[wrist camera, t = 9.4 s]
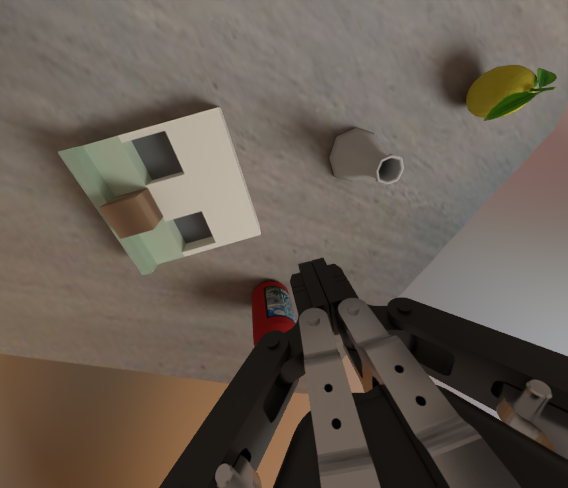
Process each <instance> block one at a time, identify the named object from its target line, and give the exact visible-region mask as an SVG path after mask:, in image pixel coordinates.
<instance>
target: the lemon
mask: <svg viewBox="0 0 568 488" xmlns="http://www.w3.org/2000/svg"><path fill="white" fill-rule="evenodd" d="M556 78H557V77H556V75H555V74H554V73H552V72H549V71H547V70H544V69H541V68H538V81H537V77H536V75H535V74H534V73H533V72H532V71H531V70H530V69H528V68H526V67H524V66H520V65H508V66H500V67H496V68H494V69H492V70H490V71H488V72H486V73H484V74H482V75H481V76H480V77H479V78H478V79H476V80H475V82H474V83H473V84H472V85H471V87H470V89H469V91H468V93H467V98H466V105H467V107H468V110H469V111H470V112H471V113H472V114H474V115H475V116H478V117H483V118H485V119H484V121H486V120H491V119H495V118H498V117H503V116H506V115H509V114H511V113H513V112H515V111H517V110H519V109H520V108H522V107H523V106H524V105H525V104H527V102H529V101H530V100H531V99H532V98H534V97H535V96H536V95H537V94H539V93H541V92H543V91H546V90H554V89H555V88H556V87H550V88H542V87H544V86H546V85H548V84H550V83H552V82H554V81H555V80H556ZM538 82H539V89H536V88H537V83H538ZM535 91H540V92H538V93H535Z"/></svg>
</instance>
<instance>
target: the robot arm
mask: <svg viewBox="0 0 568 488" xmlns="http://www.w3.org/2000/svg"><path fill="white" fill-rule="evenodd" d="M298 265H299V270H300V273H297V274H293V275H292V276H291V280H290V283H291V287H292V291H293V295H294V299H295V303H296V306H297V310H298V315H299V316H298V321H297V323H296V324H295V325H294V326H293V327H292V328H291V329H290V330H288V331H286V332H285V333H284V332H282V331H279V330H273V331H269V332H267V333H266V334H264V335H263V336H262V337H261V339H260V340H259V341H258V343H257V344H256V346H255V347H254V349H253V350H252V352H251V353H250V355H249V356H248V358H247V359H246V361H245V362H244V363H243V365H242V366H241V368H240V369H239V371H238V372H237V374H236V375H235V377H234V378H233V380H232V381H231V383H230V384H229V386H228V387H227V389H226V390H225V391H224V393H223V394H222V396H221V397H220V399H219V400H218V402H217V403H216V405H215V406H214V408H213V409H212V411H211V412H210V413H209V415H208V416H207V418H206V419H205V421H204V422H203V424H202V425H201V427H200V428H199V430H198V431H197V433H196V434H195V435H194V437H193V439H192V440H191V441H190V443H189V444H188V446H187V447H186V449H185V450H184V452H183V453H182V455H181V456H180V458H179V459H178V461H177V462H176V463H175V465H174V466H173V468H172V469H171V471H170V472H169V474H168V475H167V477H166V478H165V480H164V481H163V483H162V484H161V485H160V487H159V488H262V487H261V480H260V477H259V475H258V473H257V472H256V470H257V468H258V466H259V464H260V462H261V460H262V458H263V455H264V454H265V451H266V449H267V447H268V445H269V443H270V441H271V439H272V437H273V435H274V432H275V430H276V428H277V426H278V424H279V422H280V420H281V418H282V416H283V413H284V411H285V409H286V407H287V405H288V403H289V401H290V399H291V397H292V394H293V392H294V390H295V388H296V386H297V384H298V382H299V378H300V377H301V376H303V375H304V374H306V380H307V387H308V394H309V400H310V407H311V411H310V412H308V413H307V414H306V416H305V417H303V419H302V420H301V422H300V423H299V424H298V426H297V428H296V430H295V432H294V434H293V437H292V439H291V442H290V445H289V447H288V450H287V452H286V455H285V458H284V461H283V463H282V465H281V468H280V471H279V473H278V476H277V478H276V481H275V484H274V486H273V488H568V356H565V355H563V354H560V353H557V352H554V351H552V350H549V349H546V348H543V347H541V346H537V345H535V344H532V343H530V342H527V341H524V340H521V339H519V338H516V337H513V336H510V335H508V334H505V333H502V332H499V331H497V330H494V329H491V328H488V327H485V326H483V325H480V324H477V323H475V322H472V321H469V320H466V319H463V318H461V317H458V316H455V315H453V314H449V313H447V312H444V311H442V310H439V309H436V308H433V307H430V306H428V305H425V304H422V303H420V302H416V301H414V300H411V299H408V298H395V299H393V300H391V301H390V302H389V303H388V306H372V305H368V304H366V303H365V302H364V301H363V300H361V299H359V298H358V296H357V295H356V293H355V291H354V289H353V288H352V286H351V284H350V283H349V281H348V280H347V278H346V276H345V275H344V273H343V271H342V269H341V268H340V267H339V266H337V265H336V264H331V265H327V264H326V262H325V260H324V258H320V259H316V260H312V261H311V262H310V261H308V262H305V263H301V264H298ZM333 332H334V334H335V335H338V334H340V336H341V338H342V341H343V347H344V350H345V351H346V353H347V355H348V357H349V359H350V361H351V363H352V365H353V367H354V369H355V371H356V373H357V375H358V377H359V379H360V381H361V384H362V386H363V389H364V392H365V393H351V389H350V386H349V383H348V379H347V376H346V372H345V369H344V366H343V363H342V359H341V356H340V353H339V352H338V349H337V346H336V343H335V339H334V334H333ZM427 374H428V375H430V376H432V377H434V378H435V379H438V380H439V381H441V382H443V383H445V384H447V385H448V386H450V387H452V388H454V389H456V390H458V391H460V392H461V393H463V394H465V395H467V396H469V397H471V398H473V399H474V400H476V401H478V402H480V403H482V404H484V405H486V406H487V407H489V408H491V409H493V410H495V411H497V414H498V415H499V417H500V419H501V420H502V421H503V422H502V421H500V420H499V419H497V418H495V417H494V416H492V415H490V414H488V413H486V412H485V411H483V410H481V409H479V408H478V407H476V406H474V405H473V404H471V403H469V402H468V401H466V400H464V399H463V398H461V397H459V396H457V395H456V394H454V393H452V392H450V391H449V390H447V389H445V388H442V387H440V386H438V385H435V384H434V382H433V381H432V380H431V378H430V377H429V376H428V375H427Z"/></svg>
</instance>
